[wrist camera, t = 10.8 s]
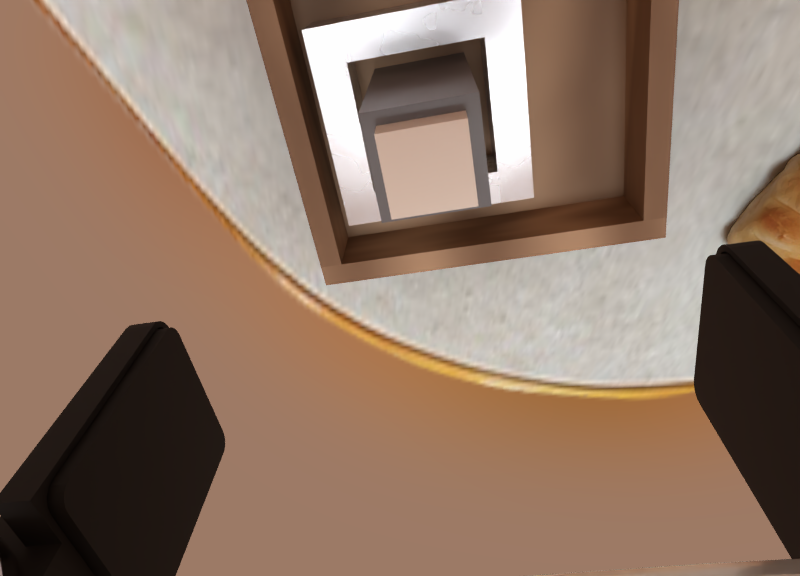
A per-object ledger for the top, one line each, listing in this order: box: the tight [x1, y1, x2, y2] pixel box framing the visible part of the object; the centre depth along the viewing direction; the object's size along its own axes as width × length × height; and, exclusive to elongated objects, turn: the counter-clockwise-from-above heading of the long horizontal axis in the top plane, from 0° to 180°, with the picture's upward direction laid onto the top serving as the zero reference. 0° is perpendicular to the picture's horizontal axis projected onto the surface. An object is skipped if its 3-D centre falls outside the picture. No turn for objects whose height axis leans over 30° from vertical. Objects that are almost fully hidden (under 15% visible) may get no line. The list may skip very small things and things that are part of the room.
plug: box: [358, 52, 492, 223], centre depth 23 cm, size 4×4×9 cm
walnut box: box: [247, 0, 679, 285], centre depth 26 cm, size 16×14×4 cm
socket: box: [302, 0, 534, 226], centre depth 26 cm, size 9×9×2 cm
